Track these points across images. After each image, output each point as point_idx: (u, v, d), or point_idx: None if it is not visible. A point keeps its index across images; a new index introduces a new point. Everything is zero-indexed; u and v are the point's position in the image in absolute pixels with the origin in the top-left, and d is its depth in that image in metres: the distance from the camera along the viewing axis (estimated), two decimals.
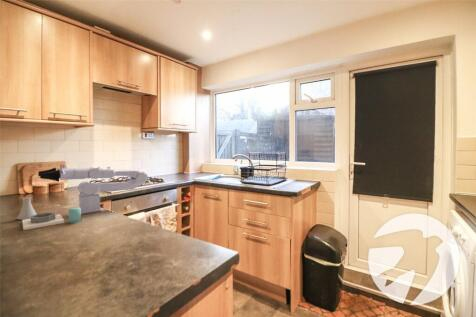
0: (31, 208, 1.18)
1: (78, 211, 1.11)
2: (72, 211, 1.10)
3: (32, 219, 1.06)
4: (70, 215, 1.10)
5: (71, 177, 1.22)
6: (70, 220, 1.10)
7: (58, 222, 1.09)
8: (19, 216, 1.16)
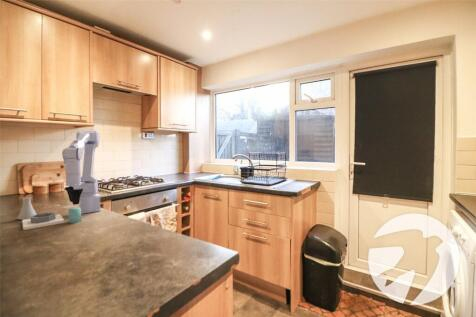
0: (31, 208, 1.18)
1: (78, 211, 1.11)
2: (72, 211, 1.10)
3: (32, 219, 1.06)
4: (70, 215, 1.10)
5: None
6: (70, 220, 1.10)
7: (58, 222, 1.09)
8: (19, 216, 1.16)
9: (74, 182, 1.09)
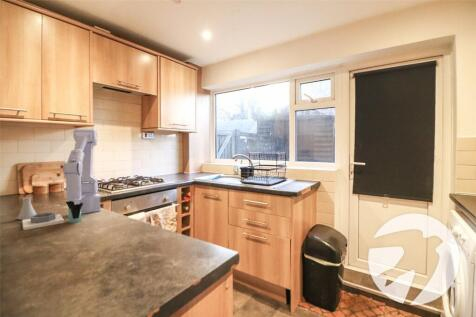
0: (31, 208, 1.18)
1: None
2: None
3: (32, 219, 1.06)
4: (70, 215, 1.10)
5: None
6: (70, 220, 1.10)
7: (58, 222, 1.09)
8: (19, 216, 1.16)
9: (75, 197, 1.10)
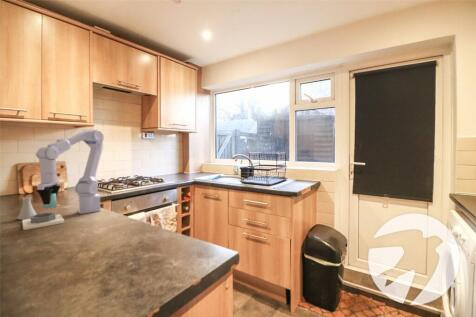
0: (31, 208, 1.18)
1: None
2: None
3: (32, 219, 1.06)
4: None
5: None
6: (43, 205, 1.09)
7: (58, 222, 1.09)
8: (19, 216, 1.16)
9: (45, 182, 1.07)
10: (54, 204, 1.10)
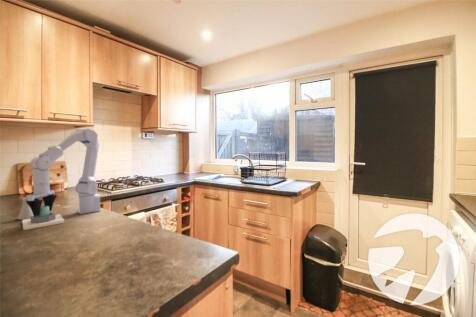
0: None
1: (42, 210, 1.08)
2: None
3: (32, 219, 1.06)
4: None
5: None
6: None
7: (58, 222, 1.09)
8: (19, 216, 1.16)
9: (37, 193, 1.07)
10: None
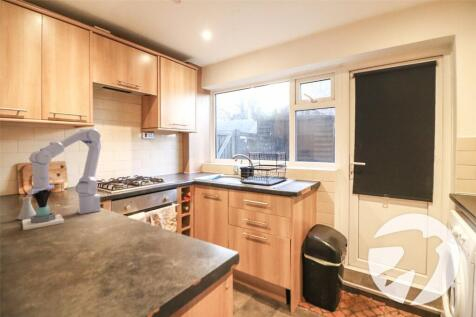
0: (31, 208, 1.18)
1: (42, 210, 1.08)
2: (36, 209, 1.08)
3: (32, 219, 1.06)
4: (36, 213, 1.09)
5: None
6: None
7: (58, 222, 1.09)
8: (19, 216, 1.16)
9: (37, 187, 1.07)
10: None
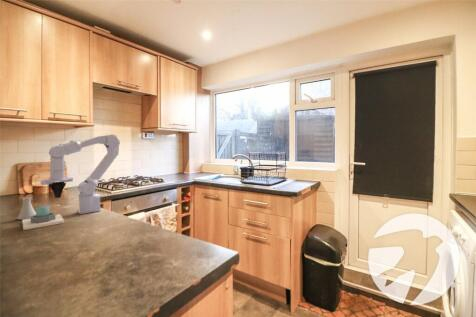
0: (31, 208, 1.18)
1: (42, 210, 1.08)
2: (36, 209, 1.08)
3: (32, 219, 1.06)
4: (36, 213, 1.09)
5: None
6: None
7: (58, 222, 1.09)
8: (19, 216, 1.16)
9: (51, 178, 1.18)
10: None
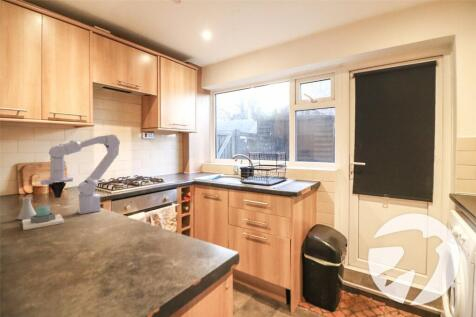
0: (31, 208, 1.18)
1: (42, 210, 1.08)
2: (36, 209, 1.08)
3: (32, 219, 1.06)
4: (36, 213, 1.09)
5: None
6: None
7: (58, 222, 1.09)
8: (19, 216, 1.16)
9: (51, 178, 1.18)
10: None
